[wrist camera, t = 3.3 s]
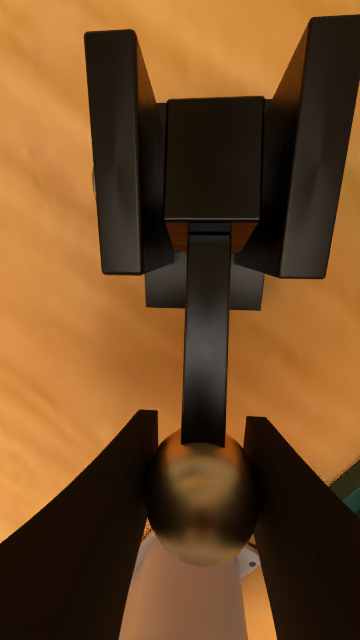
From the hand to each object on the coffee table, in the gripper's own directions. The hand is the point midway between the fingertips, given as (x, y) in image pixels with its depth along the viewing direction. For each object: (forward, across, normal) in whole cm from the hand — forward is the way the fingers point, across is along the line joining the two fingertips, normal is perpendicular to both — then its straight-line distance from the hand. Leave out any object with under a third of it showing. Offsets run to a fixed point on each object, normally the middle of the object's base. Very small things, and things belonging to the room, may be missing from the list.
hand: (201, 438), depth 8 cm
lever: (+1, 0, -3) cm, 3 cm away
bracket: (+7, 0, -8) cm, 10 cm away
